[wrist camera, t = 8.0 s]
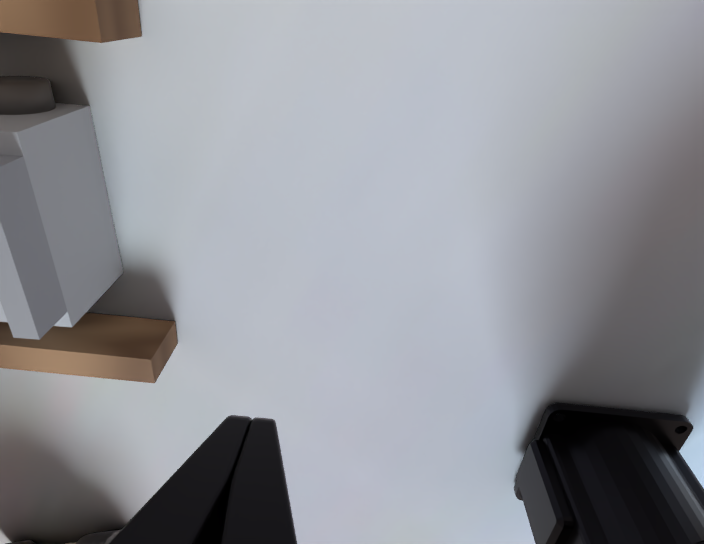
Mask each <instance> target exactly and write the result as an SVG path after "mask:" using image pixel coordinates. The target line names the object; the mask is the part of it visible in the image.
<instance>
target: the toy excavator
mask: <svg viewBox="0 0 704 544" xmlns="http://www.w3.org/2000/svg"><path fill="white" fill-rule="evenodd" d="M120 531H121V530H115V531H106V532H98V533H91V534H87V535H84V536H83V537H82V538H81V539H80V540H79V541H77V542H76V543H67V544H108V543H109V542H110V541H111V540H112V539H113V538H114V537H115V536H116V535H117V534H118V533H119V532H120ZM7 544H35V543H34V542H33V541H31V540H26V541H20V542H12V543H7Z"/></svg>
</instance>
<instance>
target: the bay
mask: <svg viewBox="0 0 704 544" xmlns="http://www.w3.org/2000/svg"><path fill="white" fill-rule="evenodd" d="M0 32H3V33H13V34H23V35H32V36H42V37H51V38H61V39H70V40H80V41H89V42H99V43H103V42H110V41H116V40H122V39H129V38H135V37H141V36H142V35H141V26H140V18H139V9H138V0H0ZM177 344H178V342H177V334H176V325H175V321H166V320H156V319H146V318H136V317H126V316H116V315H106V314H97V313H87V312H86V313H85V314H84V315H83V316H82V317H81V318H80V320H79V321H78V322H77V323H76V324H75V325H74V326H73V327H60V326H53V327H52V328H51V329H50V330H49V331H48V332H47V333H46V334H45V335H44V336H43V337H42V338H41V339H40V340H37V339H25V338H13V335H12V332H11V329H10V327H9V324H8V322H0V368H8V369H18V370H28V371H38V372H48V373H58V374H68V375H78V376H88V377H98V378H108V379H118V380H128V381H138V382H148V383H155V382H156V380H157V378H158V377H159V375H160V373H161V371H162V370H163V368H164V366H165V364H166V363H167V361H168V359H169V358H170V356H171V354H172V352H173V351H174V349H175V347H176V345H177Z"/></svg>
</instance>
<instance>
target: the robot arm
mask: <svg viewBox="0 0 704 544" xmlns="http://www.w3.org/2000/svg"><path fill="white" fill-rule="evenodd" d="M557 414H558V415H557ZM692 429H693V426H692V424H691V423H690V421H689V420H688V419H687V418H686V417H685V416H682V415H675V414H665V413H655V412H645V411H635V410H625V409H615V408H605V407H595V406H585V405H575V404H565V403H555V404H551V405H550V406H548V407H547V409H546V410H545V413H544V415H543V418H542V420H541V423H540V425H539V427H538V430H537V432H536V435H535V437H534V440H532V442H531V443H530V444H529V446H528V448H527V451H526V453H525V455H524V458H523V460H522V463H521V465H520V468H519V470H518V473H517V475H516V478H517V481H516V483H515V486H514V491H515V495H516V497H517V498H518V499H519V500H522V501H523V502H524V505H525V509H526V512H527V516H528V519H529V523H530V526H531V529H532V533H533V536H534V540H535V543H536V544H704V489H703V487H702V486H701V484H700V483H699V481H698V480H697V478H696V477H695V475H694V474H693V472H692V471H691V469H690V468H689V466H688V465H687V463H686V462H685V460H684V459H683V457H682V456H681V454H680V453H679V450H680V449H681V447H682V446H683V444H684V443H685V441H686V439H687V438H688V436H689V435H690V433H691V432H692ZM108 544H297V540H296V535H295V529H294V523H293V518H292V512H291V506H290V501H289V495H288V489H287V484H286V478H285V472H284V467H283V461H282V455H281V450H280V444H279V438H278V433H277V427H276V422H275V420H273V419H267V418H254V419H253V420H252V419H251V418H250V417H247V416H236V415H231V416H228V417H227V418H226V419H225V420H224V421H223V422H222V423H221V424H220V425H219V426H218V427H217V429H216V430H215V431H214V432H213V433H212V434H211V435H210V436H209V437H208V438H207V439H206V440H205V441H204V442H203V443H202V444H201V446H200V447H199V448H198V449H197V450H196V451H195V452H194V453H193V454H192V455H191V456H190V457H189V458H188V459H187V460H186V461H185V463H184V464H183V465H182V466H181V467H180V468H179V469H178V470H177V471H176V472H175V473H174V474H173V475H172V476H171V477H170V478H169V480H168V481H167V482H166V483H165V484H164V485H163V486H162V487H161V488H160V489H159V490H158V491H157V492H156V493H155V494H154V495H153V497H152V498H151V499H150V500H149V501H148V502H147V503H146V504H145V505H144V506H143V507H142V508H141V509H140V510H139V511H138V512H137V514H136V515H135V516H134V517H133V518H132V519H131V520H130V521H129V522H128V523H127V524H126V525H125V526H124V527H123V528H122V530H121V531H120V532H119V533H118V534H117V535H116V536H115V537H114V538H113V539H112V540H111V541H110V542H109V543H108Z"/></svg>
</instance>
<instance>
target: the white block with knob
mask: <svg viewBox="0 0 704 544" xmlns="http://www.w3.org/2000/svg"><path fill="white" fill-rule="evenodd" d="M123 272H124V271H123V266H122V261H121V256H120V251H119V246H118V241H117V236H116V232H115V227H114V222H113V217H112V212H111V207H110V202H109V197H108V192H107V187H106V182H105V177H104V172H103V167H102V163H101V158H100V153H99V148H98V143H97V138H96V133H95V128H94V123H93V118H92V113H91V108H90V106H88V105H75V104H62V103H55V101H54V97H53V93H52V88H51V84H50V80H48V79H46V78H40V77H30V76H0V322H8V324H9V327H10V329H11V332H12V335H13V338H25V339H37V340H40V339H41V338H42V337H43V336H44V335H45V334H46V333H47V332H48V331H49V330H50V329H51V328H52V327H53V326H60V327H73V326H74V325H75V324H76V323H77V322H78V321H79V320H80V318H81V317H82V316H83V315H84V314H85V313H86V312H87V311H88V310H89V309H90V308H91V307H92V306H93V305H94V304H95V303H96V302H97V301H98V300H99V298H100V297H101V296H102V295H103V294H104V293H105V292H106V291H107V290H108V288H109V287H110V286H111V285H112V284H113V283H114V282H115V281H116V280H117V279H118V278H119V277H120V276H121V274H122V273H123Z"/></svg>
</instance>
